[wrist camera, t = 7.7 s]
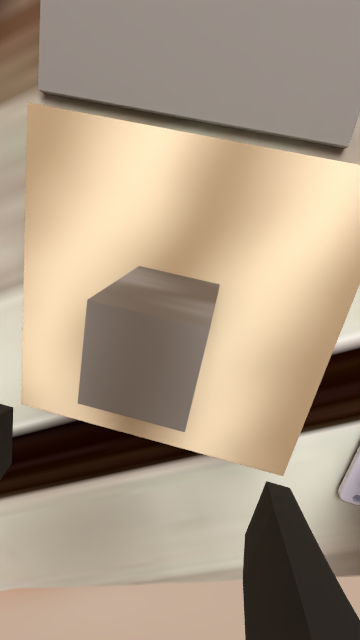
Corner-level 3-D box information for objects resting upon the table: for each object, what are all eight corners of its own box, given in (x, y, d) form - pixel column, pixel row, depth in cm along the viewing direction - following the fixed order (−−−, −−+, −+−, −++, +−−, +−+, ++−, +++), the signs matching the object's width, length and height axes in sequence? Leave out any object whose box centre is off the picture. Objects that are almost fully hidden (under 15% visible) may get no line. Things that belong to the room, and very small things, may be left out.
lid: (391, 175, 11) (524, 153, 6) (280, 462, 15) (301, 590, 10) (40, 108, 12) (-104, 41, 7) (31, 394, 16) (-61, 481, 11)
